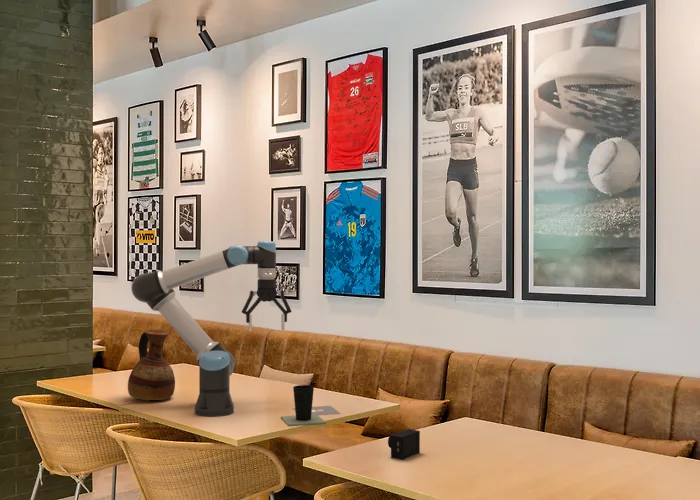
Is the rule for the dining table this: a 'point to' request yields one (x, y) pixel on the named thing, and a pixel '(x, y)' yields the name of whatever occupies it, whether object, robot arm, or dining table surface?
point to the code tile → (323, 410)
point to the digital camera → (404, 444)
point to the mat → (293, 422)
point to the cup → (303, 401)
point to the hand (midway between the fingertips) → (266, 330)
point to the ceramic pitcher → (152, 369)
